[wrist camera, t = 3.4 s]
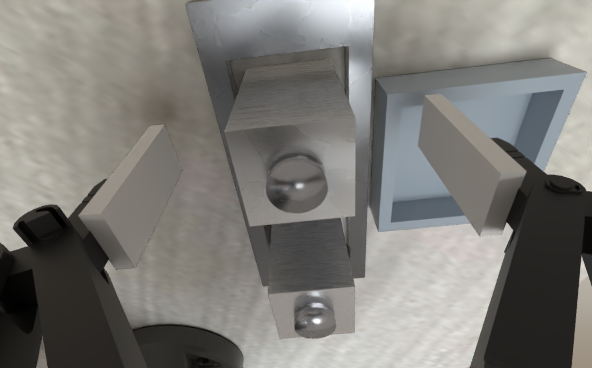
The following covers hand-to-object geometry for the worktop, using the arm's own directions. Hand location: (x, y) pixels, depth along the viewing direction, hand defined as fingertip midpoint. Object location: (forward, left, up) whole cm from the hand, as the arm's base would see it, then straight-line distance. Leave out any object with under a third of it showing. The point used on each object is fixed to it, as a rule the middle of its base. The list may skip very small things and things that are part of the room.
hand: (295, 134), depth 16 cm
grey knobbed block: (0, -10, -4) cm, 11 cm away
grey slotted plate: (0, -5, -4) cm, 6 cm away
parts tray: (+10, -4, -4) cm, 11 cm away
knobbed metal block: (0, 0, -4) cm, 4 cm away
